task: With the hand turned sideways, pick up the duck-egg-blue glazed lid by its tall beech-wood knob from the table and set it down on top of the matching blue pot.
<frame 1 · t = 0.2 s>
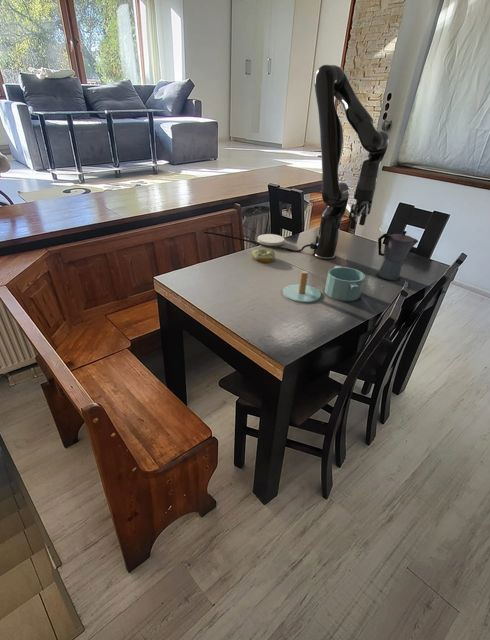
hand: (356, 227, 158), 17 cm above the table, tool pointing down, fingers open, 8 cm apart
pot: (341, 293, 143), on the table
moka pot: (387, 276, 158), on the table
plastic lid: (270, 243, 190), on the table
pot lid: (301, 293, 141), point 1 cm above the table
decorated donut: (263, 259, 171), on the table
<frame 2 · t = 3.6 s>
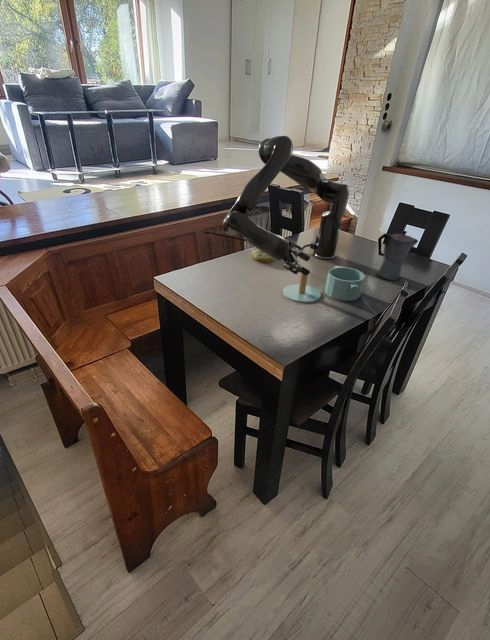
hand: (308, 266, 136), 11 cm above the table, tool tilted 60°, fingers open, 8 cm apart
nothing on the table moved.
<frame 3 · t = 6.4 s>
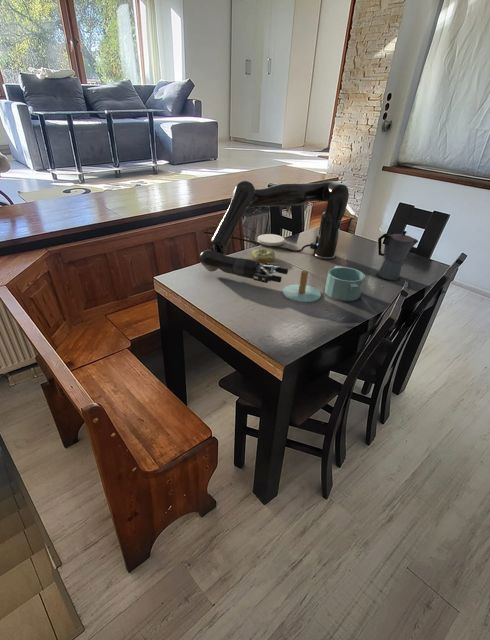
hand: (284, 275, 140), 7 cm above the table, tool horizontal, fingers open, 8 cm apart
nothing on the table moved.
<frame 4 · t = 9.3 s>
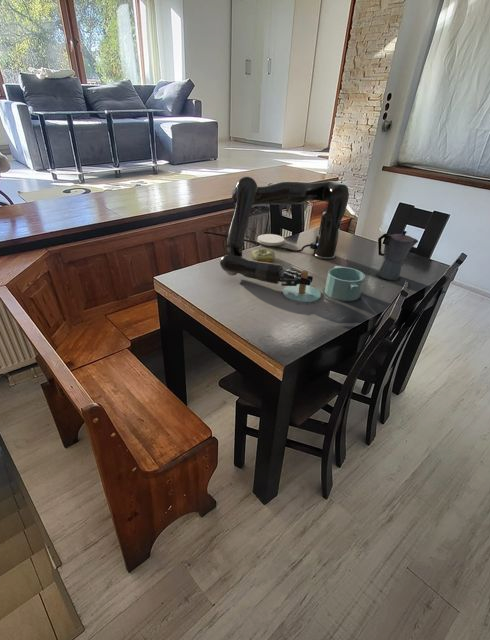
hand: (311, 281, 137), 7 cm above the table, tool horizontal, fingers closed on pot lid, 2 cm apart
pot lid: (301, 293, 141), point 1 cm above the table, touching gripper
everything else where it was.
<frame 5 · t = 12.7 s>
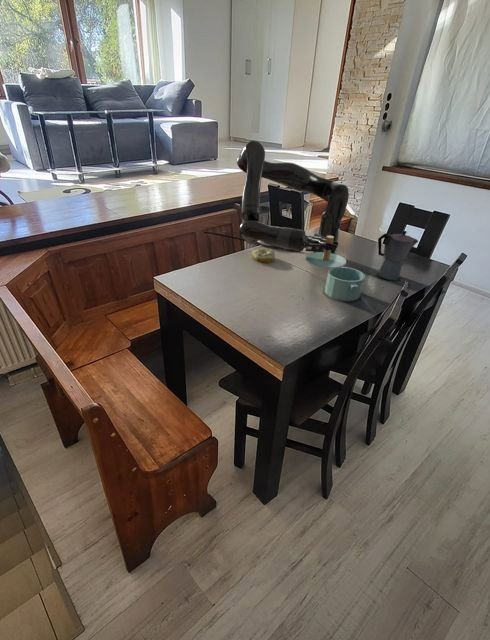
hand: (336, 246, 130), 20 cm above the table, tool horizontal, fingers closed on pot lid, 2 cm apart
pot lid: (325, 260, 134), point 14 cm above the table, touching gripper
everything else where it was.
when the fingers open (14 cm above the table, at t = 16.0 s): pot lid stays where it is, resting on pot.
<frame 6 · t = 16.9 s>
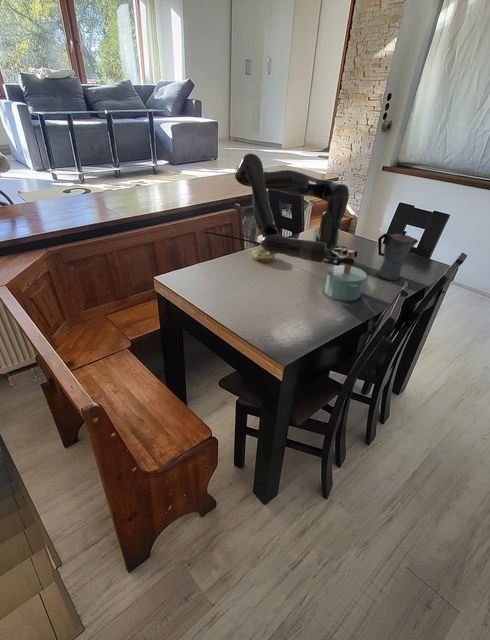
hand: (355, 258, 133), 15 cm above the table, tool horizontal, fingers open, 8 cm apart
pot lid: (346, 273, 138), point 8 cm above the table, touching pot
everything else where it was.
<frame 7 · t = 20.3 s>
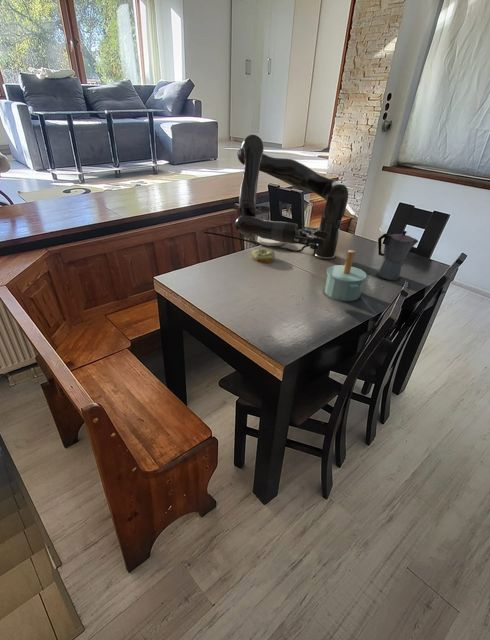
hand: (325, 238, 137), 20 cm above the table, tool horizontal, fingers open, 8 cm apart
nothing on the table moved.
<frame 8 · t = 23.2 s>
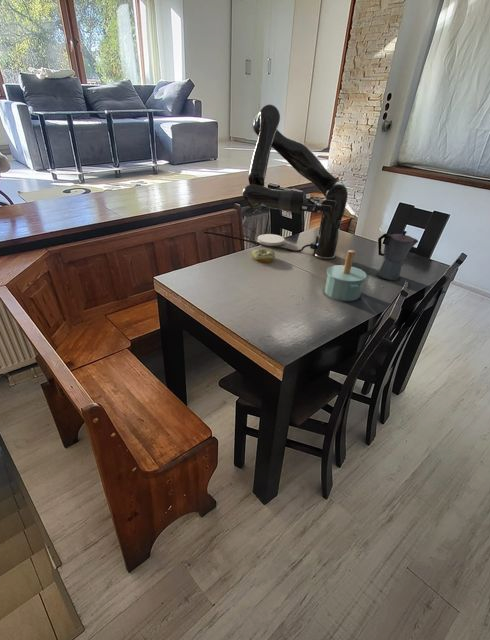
hand: (333, 206, 136), 30 cm above the table, tool horizontal, fingers open, 8 cm apart
nothing on the table moved.
at the end: pot lid 0.1 cm off-centre on the pot, point 8.5 cm above the pot's base; pot lid tilted 0°; the gripper is holding nothing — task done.
